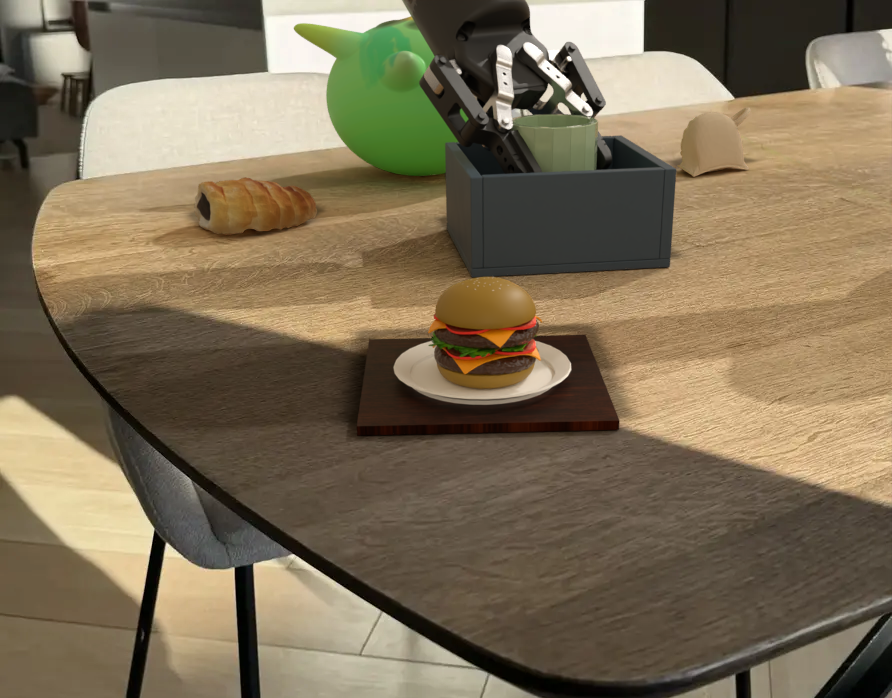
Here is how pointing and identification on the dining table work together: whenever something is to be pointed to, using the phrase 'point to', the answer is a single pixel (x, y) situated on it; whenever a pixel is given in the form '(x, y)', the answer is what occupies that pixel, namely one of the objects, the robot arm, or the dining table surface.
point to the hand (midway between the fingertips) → (568, 177)
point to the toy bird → (383, 96)
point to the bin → (560, 213)
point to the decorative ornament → (713, 143)
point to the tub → (560, 140)
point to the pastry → (251, 206)
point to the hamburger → (483, 372)
